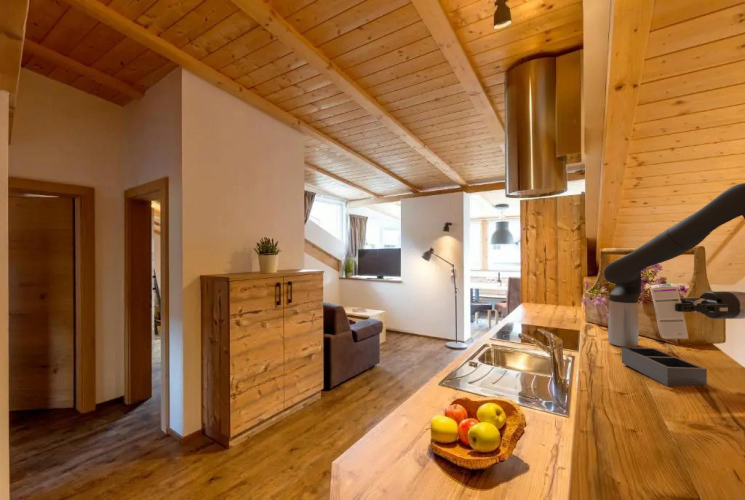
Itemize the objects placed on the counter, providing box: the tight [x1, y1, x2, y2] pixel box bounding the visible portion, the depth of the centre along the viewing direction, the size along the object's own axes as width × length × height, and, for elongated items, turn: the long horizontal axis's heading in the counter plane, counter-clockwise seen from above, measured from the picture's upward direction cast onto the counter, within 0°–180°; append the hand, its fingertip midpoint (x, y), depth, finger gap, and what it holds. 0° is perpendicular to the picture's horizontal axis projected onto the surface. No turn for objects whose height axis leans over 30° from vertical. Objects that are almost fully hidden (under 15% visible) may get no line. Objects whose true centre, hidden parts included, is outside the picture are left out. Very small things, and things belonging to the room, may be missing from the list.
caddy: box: [621, 346, 708, 387], centre depth 95 cm, size 18×10×5 cm, turn 174°
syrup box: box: [649, 283, 690, 340], centre depth 91 cm, size 6×6×14 cm
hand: (664, 305), depth 91 cm, fingers closed on syrup box, 7 cm apart
